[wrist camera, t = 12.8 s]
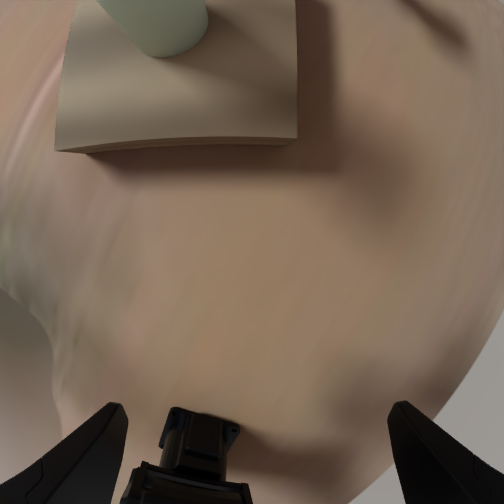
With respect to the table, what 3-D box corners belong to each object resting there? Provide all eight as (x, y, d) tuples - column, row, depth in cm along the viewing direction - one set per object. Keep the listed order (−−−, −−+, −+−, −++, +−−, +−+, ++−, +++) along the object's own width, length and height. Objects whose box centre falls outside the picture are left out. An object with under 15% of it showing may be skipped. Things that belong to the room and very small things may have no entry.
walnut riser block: (286, 145, 19) (297, 138, 15) (84, 153, 18) (54, 151, 14) (284, -21, 15) (291, -51, 11) (106, -6, 15) (87, -29, 11)
